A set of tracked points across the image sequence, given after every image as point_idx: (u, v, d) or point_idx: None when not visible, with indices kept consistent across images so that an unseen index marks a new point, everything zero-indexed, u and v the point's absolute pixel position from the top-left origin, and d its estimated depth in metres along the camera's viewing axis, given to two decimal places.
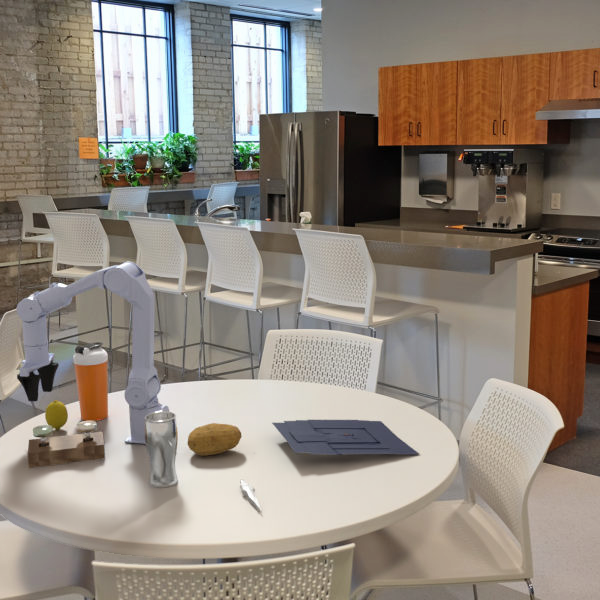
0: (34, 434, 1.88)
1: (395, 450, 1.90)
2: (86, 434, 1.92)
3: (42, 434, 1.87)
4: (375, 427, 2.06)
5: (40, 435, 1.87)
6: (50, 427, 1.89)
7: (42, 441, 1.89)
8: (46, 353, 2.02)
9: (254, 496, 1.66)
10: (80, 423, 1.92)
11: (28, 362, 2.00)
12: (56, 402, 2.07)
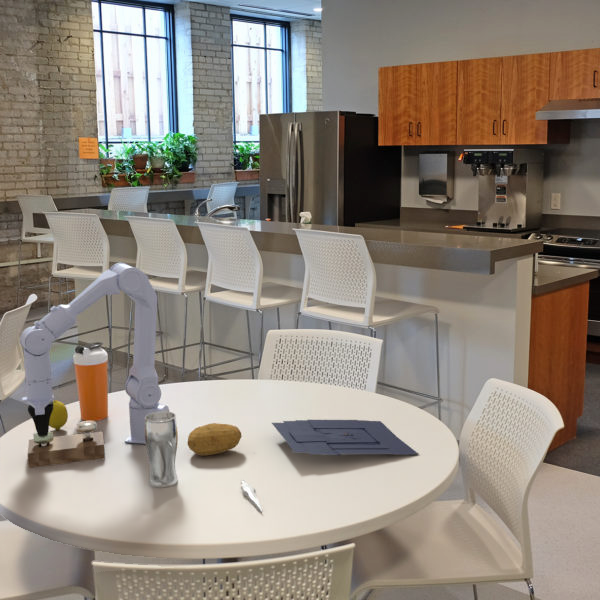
0: (35, 440, 1.88)
1: (395, 450, 1.90)
2: (86, 434, 1.92)
3: (42, 440, 1.87)
4: (374, 427, 2.06)
5: (41, 441, 1.87)
6: (50, 433, 1.90)
7: None
8: None
9: (255, 497, 1.66)
10: (80, 423, 1.92)
11: (35, 399, 1.85)
12: (56, 402, 2.07)
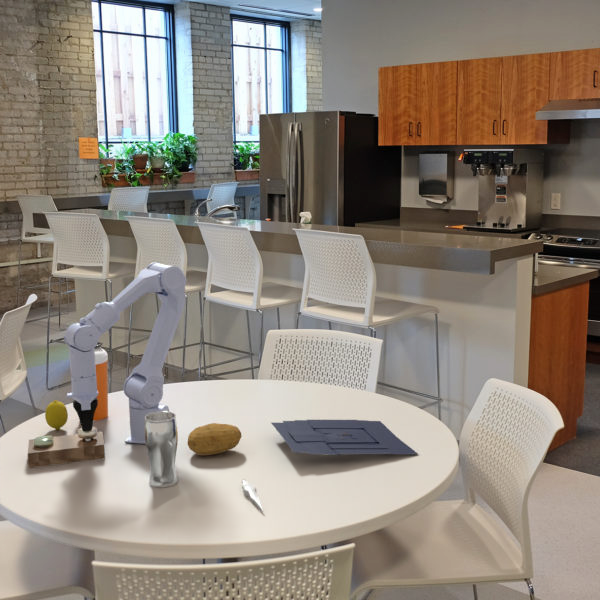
0: (35, 445, 1.88)
1: (394, 450, 1.90)
2: (86, 440, 1.92)
3: (43, 445, 1.87)
4: (374, 427, 2.06)
5: (41, 446, 1.87)
6: (51, 438, 1.90)
7: None
8: (96, 383, 1.90)
9: (256, 496, 1.66)
10: (80, 429, 1.92)
11: (80, 395, 1.87)
12: (56, 402, 2.07)
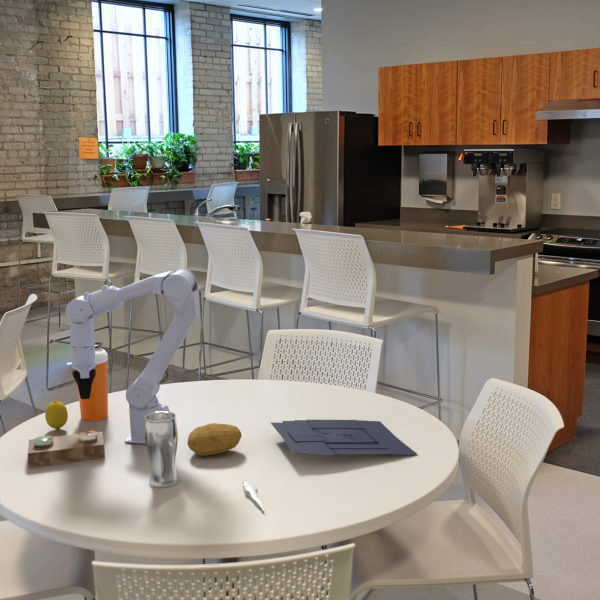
0: (35, 445, 1.88)
1: (393, 450, 1.90)
2: None
3: (43, 445, 1.87)
4: (373, 427, 2.05)
5: (41, 446, 1.87)
6: (51, 438, 1.90)
7: None
8: None
9: (257, 496, 1.66)
10: (81, 433, 1.92)
11: (79, 364, 1.97)
12: (56, 402, 2.07)
